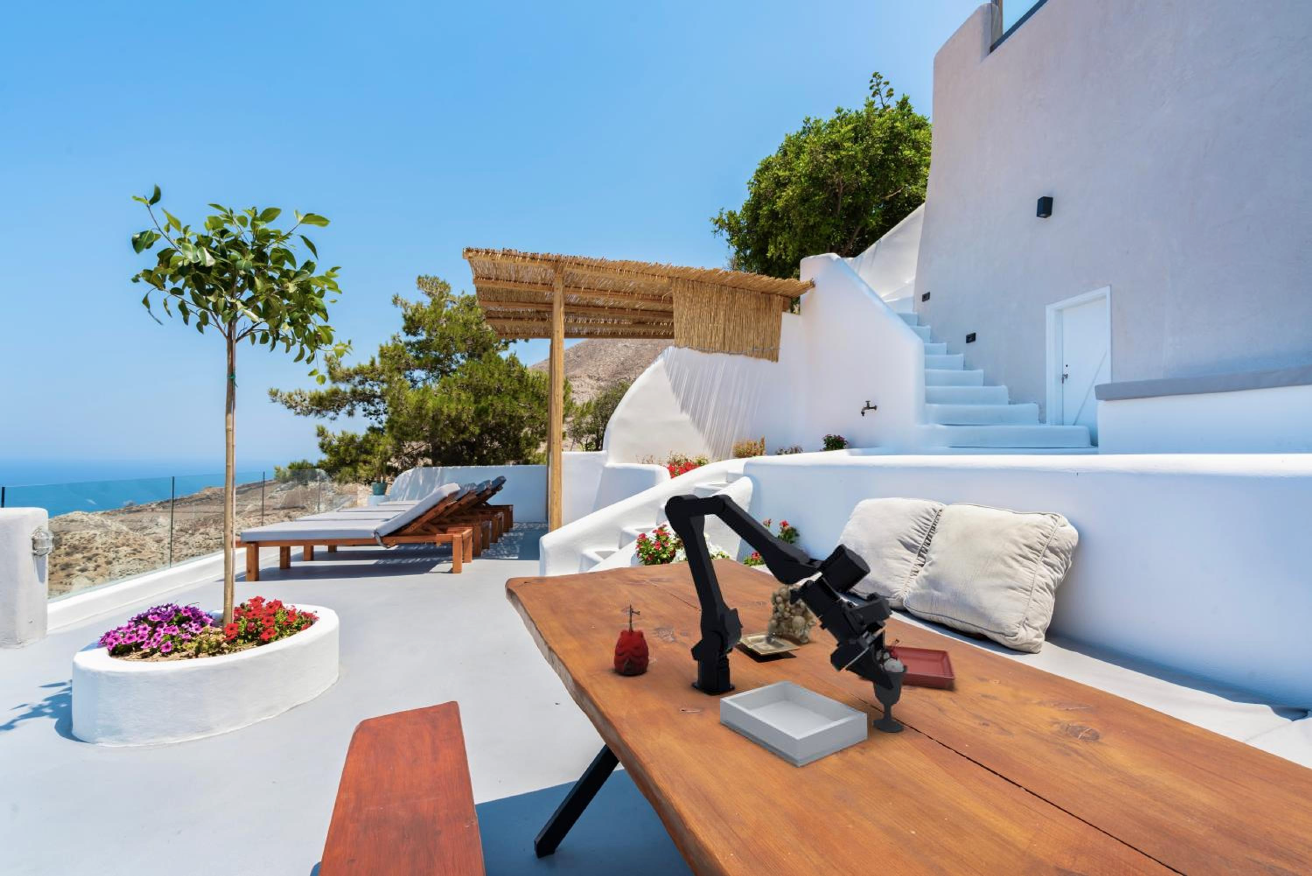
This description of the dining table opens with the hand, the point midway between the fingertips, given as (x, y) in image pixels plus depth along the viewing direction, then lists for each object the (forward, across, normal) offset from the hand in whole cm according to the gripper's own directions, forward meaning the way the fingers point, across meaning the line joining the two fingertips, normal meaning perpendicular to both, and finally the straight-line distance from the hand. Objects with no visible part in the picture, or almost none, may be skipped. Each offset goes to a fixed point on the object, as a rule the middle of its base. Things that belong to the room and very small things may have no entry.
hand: (896, 682), depth 100 cm
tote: (-5, -10, +16) cm, 20 cm away
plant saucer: (+4, +30, +8) cm, 31 cm away
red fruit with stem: (-32, -1, +44) cm, 54 cm away
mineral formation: (-17, +39, +28) cm, 51 cm away
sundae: (+4, 0, +6) cm, 8 cm away
